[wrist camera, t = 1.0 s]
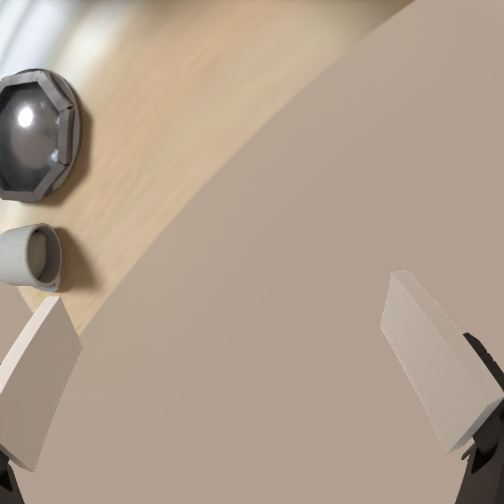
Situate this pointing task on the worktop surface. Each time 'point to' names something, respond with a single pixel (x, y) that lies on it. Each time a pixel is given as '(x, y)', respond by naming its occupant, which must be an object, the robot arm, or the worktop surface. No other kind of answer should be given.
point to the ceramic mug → (31, 257)
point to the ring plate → (37, 134)
